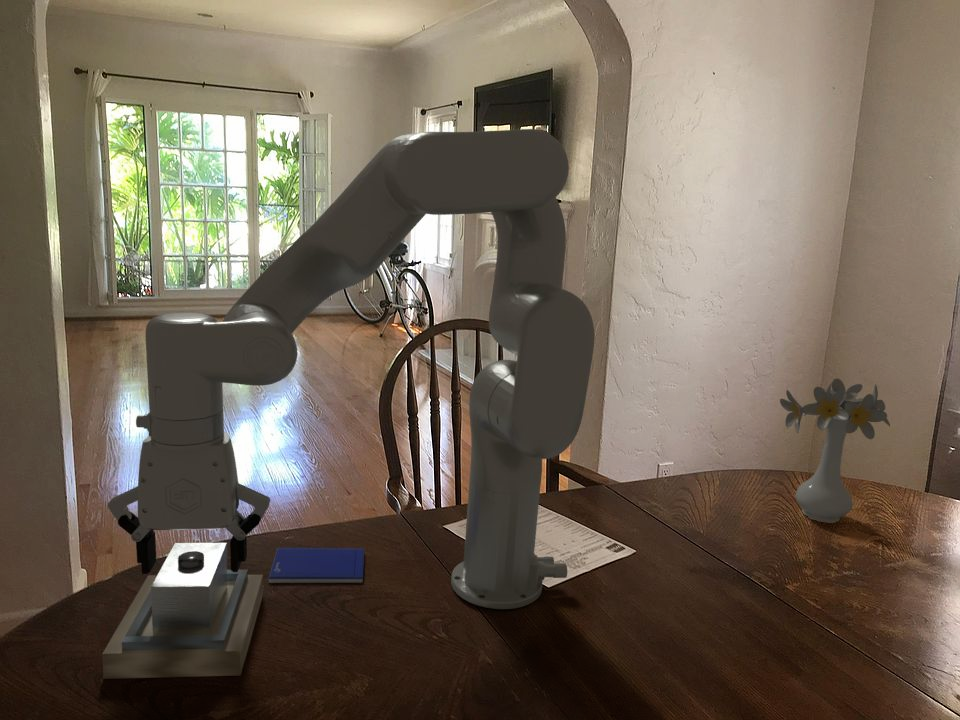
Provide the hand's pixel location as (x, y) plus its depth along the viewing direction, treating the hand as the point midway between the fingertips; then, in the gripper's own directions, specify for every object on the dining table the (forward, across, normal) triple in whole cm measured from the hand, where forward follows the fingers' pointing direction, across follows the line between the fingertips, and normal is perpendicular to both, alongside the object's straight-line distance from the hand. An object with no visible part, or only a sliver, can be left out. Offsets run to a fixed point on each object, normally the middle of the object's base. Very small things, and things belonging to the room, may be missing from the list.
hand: (193, 567), depth 85 cm
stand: (+8, 0, 0) cm, 9 cm away
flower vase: (+10, +100, +32) cm, 105 cm away
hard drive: (+10, +13, +15) cm, 22 cm away
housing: (+6, 0, 0) cm, 6 cm away
